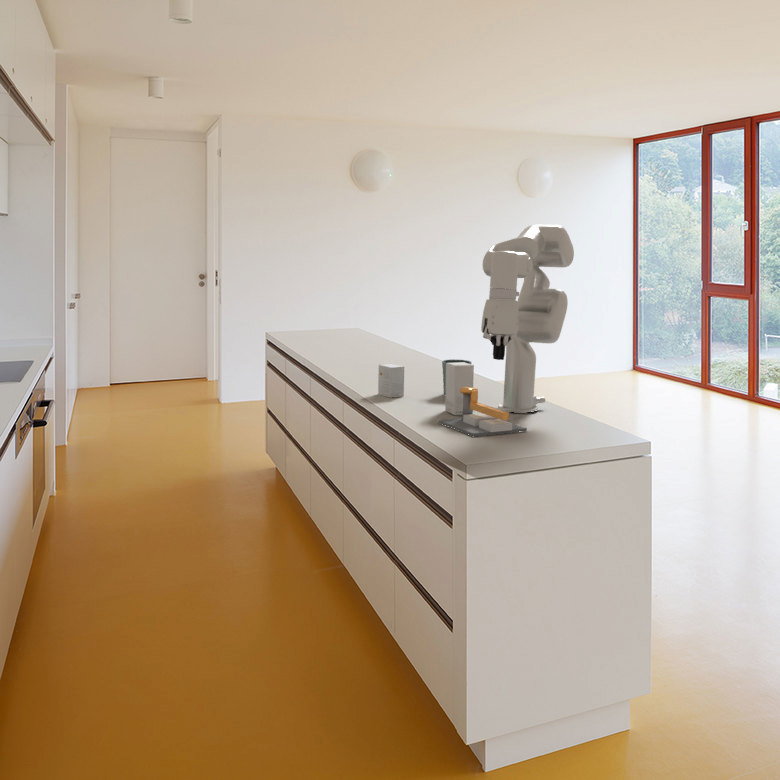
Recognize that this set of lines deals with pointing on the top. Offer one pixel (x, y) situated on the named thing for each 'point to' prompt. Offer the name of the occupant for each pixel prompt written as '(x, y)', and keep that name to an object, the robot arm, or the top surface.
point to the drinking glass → (445, 370)
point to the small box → (391, 380)
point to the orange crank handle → (481, 407)
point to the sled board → (476, 428)
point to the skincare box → (457, 385)
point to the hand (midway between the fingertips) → (498, 359)
